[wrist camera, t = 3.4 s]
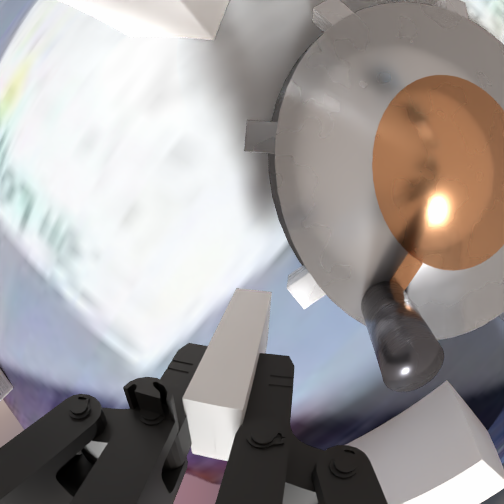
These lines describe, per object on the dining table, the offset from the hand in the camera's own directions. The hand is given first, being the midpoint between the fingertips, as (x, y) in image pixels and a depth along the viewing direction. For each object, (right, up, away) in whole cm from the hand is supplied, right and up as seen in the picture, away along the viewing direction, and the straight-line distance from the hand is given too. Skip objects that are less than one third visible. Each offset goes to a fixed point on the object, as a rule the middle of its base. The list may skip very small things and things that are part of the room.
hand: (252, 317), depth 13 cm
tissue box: (+12, -20, +10) cm, 26 cm away
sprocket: (+10, +7, 0) cm, 12 cm away
